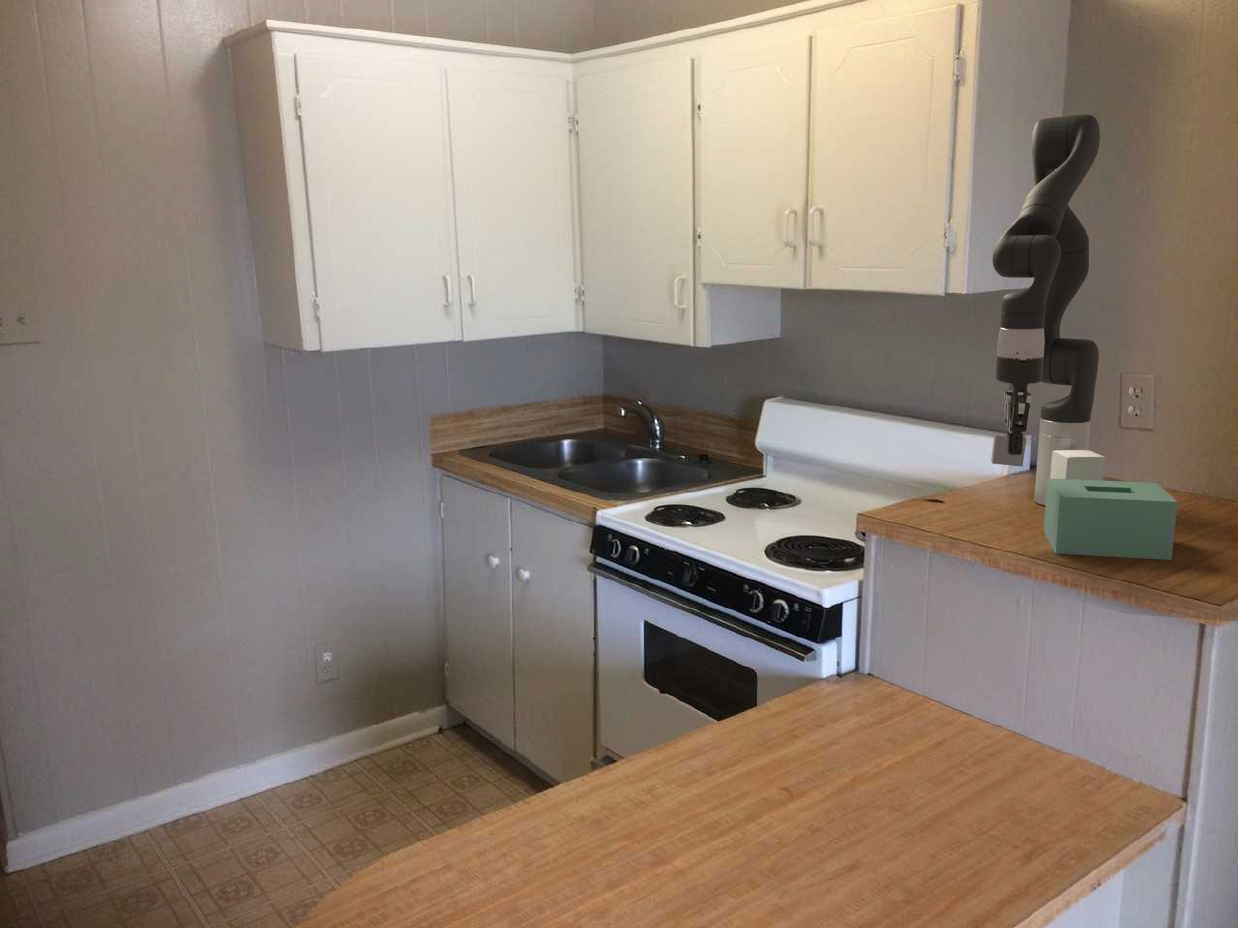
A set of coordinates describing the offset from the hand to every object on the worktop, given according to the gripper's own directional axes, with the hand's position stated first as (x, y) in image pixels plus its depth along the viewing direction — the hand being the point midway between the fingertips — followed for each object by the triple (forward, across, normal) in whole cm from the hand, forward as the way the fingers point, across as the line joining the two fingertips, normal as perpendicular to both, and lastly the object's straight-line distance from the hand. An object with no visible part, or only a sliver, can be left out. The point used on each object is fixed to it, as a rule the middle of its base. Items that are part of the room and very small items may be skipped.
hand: (1013, 452), depth 181 cm
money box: (+16, 0, +16) cm, 23 cm away
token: (+2, 0, -1) cm, 2 cm away
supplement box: (+16, -19, +14) cm, 29 cm away
